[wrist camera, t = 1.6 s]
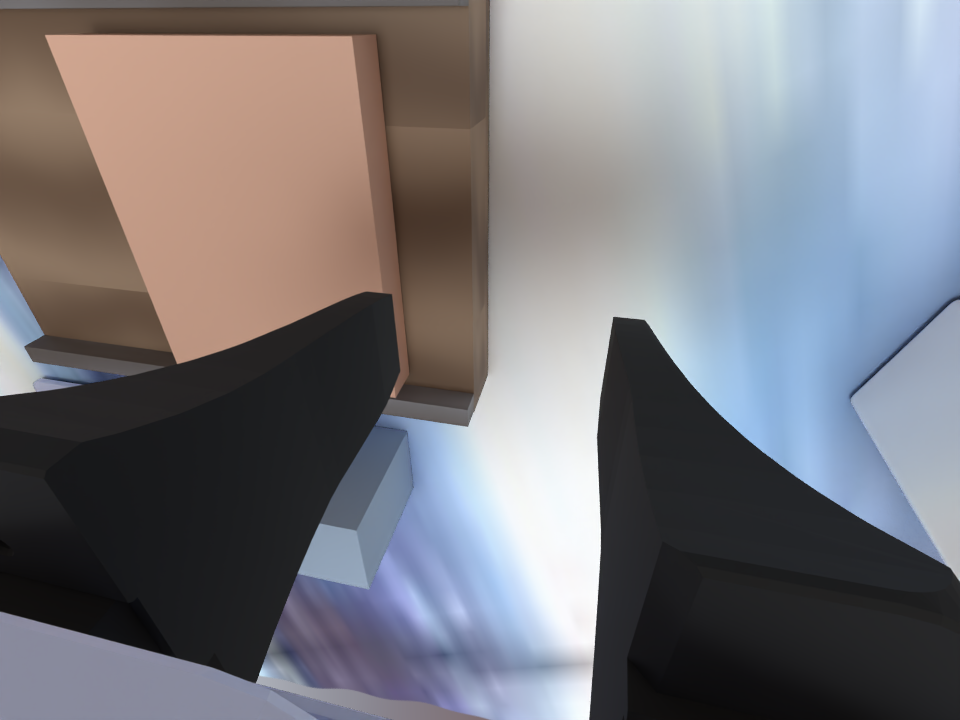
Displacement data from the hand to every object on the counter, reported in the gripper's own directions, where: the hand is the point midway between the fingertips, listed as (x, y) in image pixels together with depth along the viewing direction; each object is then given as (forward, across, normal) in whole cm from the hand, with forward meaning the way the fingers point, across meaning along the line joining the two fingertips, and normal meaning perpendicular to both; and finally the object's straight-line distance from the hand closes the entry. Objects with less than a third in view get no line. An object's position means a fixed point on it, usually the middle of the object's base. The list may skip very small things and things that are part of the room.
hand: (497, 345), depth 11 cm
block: (+8, +8, +13) cm, 17 cm away
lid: (+6, +9, 0) cm, 11 cm away
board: (+8, +12, 0) cm, 15 cm away
